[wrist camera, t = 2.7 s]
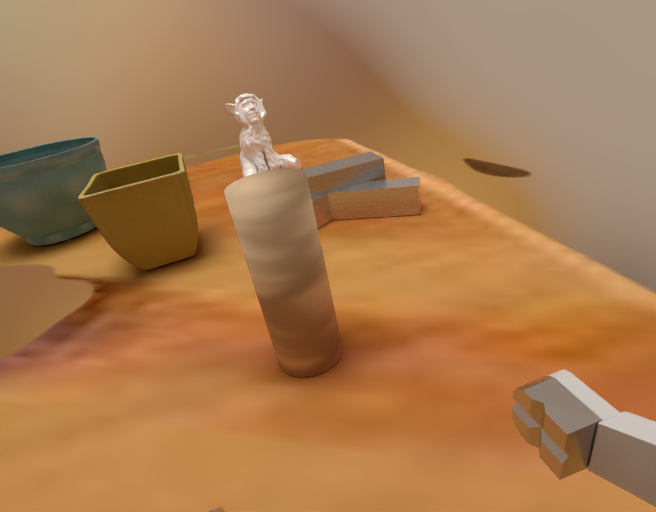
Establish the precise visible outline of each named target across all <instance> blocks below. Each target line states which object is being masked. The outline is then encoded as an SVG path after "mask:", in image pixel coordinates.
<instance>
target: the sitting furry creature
mask: <svg viewBox="0 0 656 512" xmlns="http://www.w3.org/2000/svg"><path fill="white" fill-rule="evenodd" d="M225 107H226V108H227V109H228V111H229V112H232V113H234V114H235V118H236V120H237V121H238V122H239V123H240V124H241V125H243V129H242V131H241V134H240V140H239V141H240V147H241V151H240V152H241V154H240V163H241V168H242V171H243V173H242V175H243V177H246V176H249V175H252V174H255V173H259V172H263V171H268V170H273V169H281V168H296V169H301V161H300V160H299V159H297V158H294V157H293V156H292V155H291V154H288V155H286V154H284V155H279V154H278V153H276V152H275V151H274V150H273V149H272V144H271V138H270V137H269V133H268V132H267V131H266V128H265V126H264V125H263V122H264V117H265V115H266V111H265V109H264V107H263V105H262V99H261V100H260V99H258V98H257V97H256V96H255V95H254V94H247V93H245V94H242V95H240V96H239V97H237V98H236V100H235V104H226V105H225Z"/></svg>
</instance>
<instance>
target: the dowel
mask: <svg viewBox="0 0 656 512" xmlns="http://www.w3.org/2000/svg"><path fill="white" fill-rule="evenodd" d="M224 194H225V197H226V200H227V203H228V206H229V209H230V213H231V216H232V219H233V222H234V225H235V228H236V231H237V234H238V238H239V241H240V244H241V247H242V250H243V253H244V256H245V259H246V262H247V266H248V269H249V272H250V275H251V278H252V281H253V284H254V287H255V291H256V294H257V297H258V300H259V303H260V306H261V309H262V312H263V315H264V319H265V322H266V325H267V328H268V331H269V334H270V337H271V340H272V343H273V347H274V350H275V353H276V356H277V359H278V362H279V365H280V367H281V369H282V370H283V371H284V372H286V373H287V374H289V375H291V376H295V377H312V376H316V375H319V374H322V373H324V372H326V371H328V370H329V369H331V368H332V367H333V366H334V365H335V364H336V363H337V362H338V360H339V359H340V357H341V354H342V343H341V338H340V333H339V329H338V324H337V319H336V314H335V309H334V305H333V300H332V295H331V290H330V285H329V281H328V276H327V271H326V266H325V261H324V257H323V252H322V247H321V242H320V237H319V233H318V228H317V223H316V218H315V213H314V209H313V204H312V199H311V194H310V189H309V185H308V180H307V175H306V172H305V171H304V170H301V169H296V168H281V169H273V170H268V171H263V172H259V173H255V174H252V175H249V176H246V177H244V178H241V179H239V180H237V181H235V182H233V183H231V184H230V185H229V186H227V187H226V189H225V190H224Z"/></svg>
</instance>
